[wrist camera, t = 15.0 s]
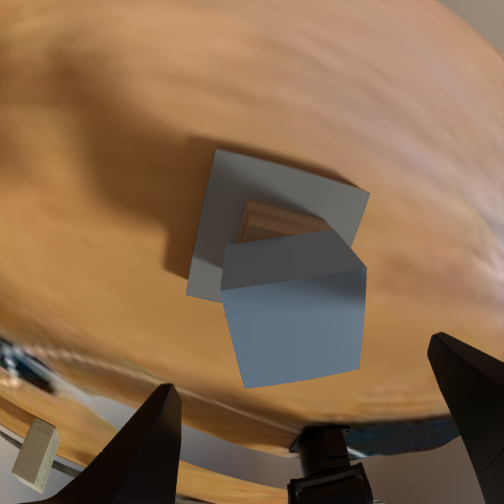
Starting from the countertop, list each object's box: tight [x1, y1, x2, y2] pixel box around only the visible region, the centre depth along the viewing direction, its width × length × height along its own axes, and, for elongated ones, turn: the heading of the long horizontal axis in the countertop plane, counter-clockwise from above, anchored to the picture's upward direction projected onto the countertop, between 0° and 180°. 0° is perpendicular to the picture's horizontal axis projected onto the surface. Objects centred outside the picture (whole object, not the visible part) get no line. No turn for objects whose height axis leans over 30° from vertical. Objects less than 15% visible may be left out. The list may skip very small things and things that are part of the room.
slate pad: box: [186, 148, 370, 303], centre depth 20 cm, size 10×10×2 cm
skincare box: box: [12, 417, 60, 493], centre depth 27 cm, size 6×4×12 cm
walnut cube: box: [225, 199, 332, 316], centre depth 17 cm, size 5×5×5 cm
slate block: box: [220, 229, 367, 388], centre depth 12 cm, size 5×5×4 cm
